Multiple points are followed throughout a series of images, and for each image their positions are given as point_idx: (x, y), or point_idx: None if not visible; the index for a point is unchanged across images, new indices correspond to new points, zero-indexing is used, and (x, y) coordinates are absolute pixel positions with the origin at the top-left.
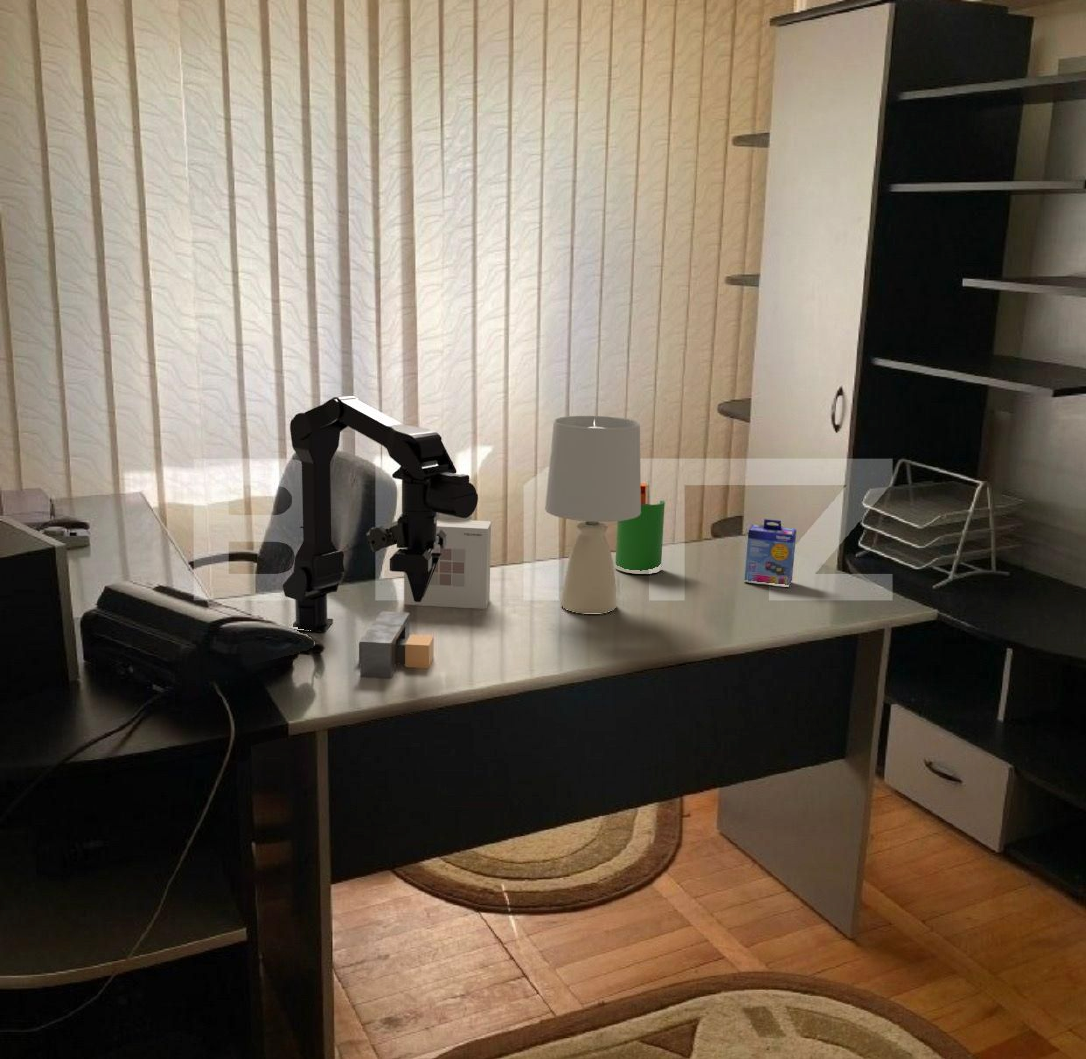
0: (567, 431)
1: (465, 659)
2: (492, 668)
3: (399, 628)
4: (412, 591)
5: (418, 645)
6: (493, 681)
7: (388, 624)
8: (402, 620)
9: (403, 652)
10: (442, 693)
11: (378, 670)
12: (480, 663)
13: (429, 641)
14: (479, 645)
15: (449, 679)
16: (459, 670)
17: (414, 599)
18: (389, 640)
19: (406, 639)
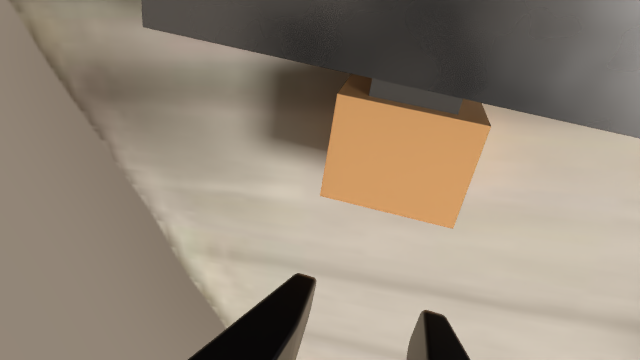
0: None
1: (414, 272)
2: (330, 320)
3: (396, 81)
4: (226, 331)
5: (327, 152)
6: (236, 302)
7: (491, 4)
8: (565, 105)
9: None
10: (135, 173)
11: None
12: (373, 302)
13: (372, 202)
14: (550, 333)
15: (240, 204)
16: (315, 240)
17: (284, 284)
18: (184, 18)
19: (455, 99)
